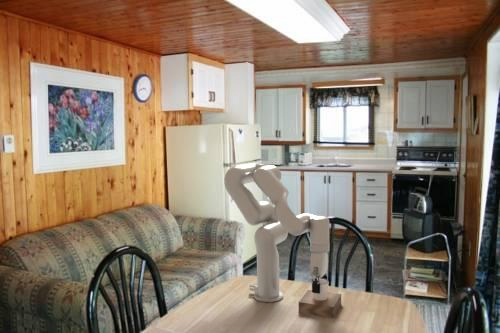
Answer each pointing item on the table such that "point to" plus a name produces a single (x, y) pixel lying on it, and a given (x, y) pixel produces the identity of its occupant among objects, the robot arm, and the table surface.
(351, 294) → the table surface
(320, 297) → the shot glass
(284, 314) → the table surface
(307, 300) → the walnut block
